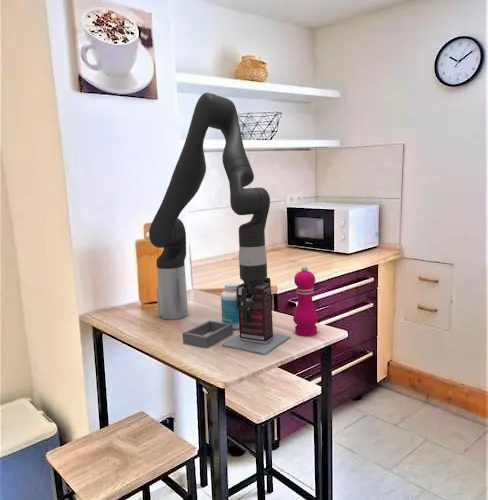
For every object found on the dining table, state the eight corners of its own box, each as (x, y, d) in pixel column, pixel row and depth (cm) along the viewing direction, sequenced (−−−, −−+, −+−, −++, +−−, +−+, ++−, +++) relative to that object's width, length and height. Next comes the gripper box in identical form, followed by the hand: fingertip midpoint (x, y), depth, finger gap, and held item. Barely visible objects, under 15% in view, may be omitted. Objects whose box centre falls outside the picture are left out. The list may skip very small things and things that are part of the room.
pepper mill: (321, 335, 134) (320, 267, 131) (297, 337, 133) (295, 269, 129) (314, 327, 141) (312, 262, 138) (290, 329, 140) (288, 264, 136)
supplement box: (274, 339, 131) (271, 284, 129) (266, 345, 127) (263, 288, 125) (247, 335, 136) (244, 281, 133) (238, 340, 132) (236, 285, 129)
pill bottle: (243, 330, 141) (241, 287, 139) (219, 330, 142) (217, 287, 140) (248, 322, 148) (246, 281, 146) (225, 322, 150) (223, 281, 147)
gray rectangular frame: (183, 343, 133) (182, 333, 133) (210, 329, 143) (209, 320, 143) (206, 348, 128) (205, 337, 128) (232, 333, 139) (232, 324, 138)
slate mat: (221, 346, 129) (221, 344, 129) (249, 330, 141) (249, 328, 141) (264, 355, 122) (264, 353, 122) (290, 337, 133) (290, 336, 133)
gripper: (250, 268, 119) (253, 328, 122) (277, 257, 131) (279, 313, 134) (226, 265, 124) (229, 324, 126) (255, 256, 135) (257, 310, 138)
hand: (255, 318), depth 130 cm, fingers open, 8 cm apart
